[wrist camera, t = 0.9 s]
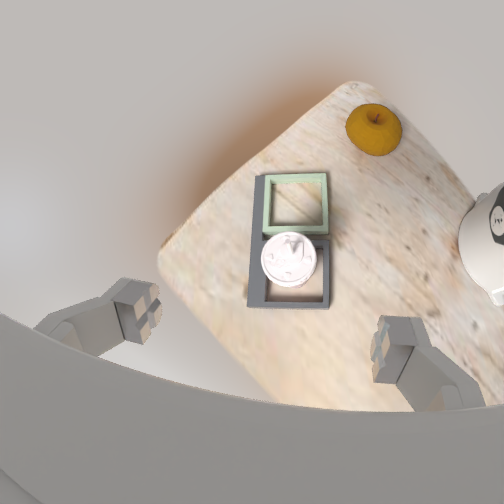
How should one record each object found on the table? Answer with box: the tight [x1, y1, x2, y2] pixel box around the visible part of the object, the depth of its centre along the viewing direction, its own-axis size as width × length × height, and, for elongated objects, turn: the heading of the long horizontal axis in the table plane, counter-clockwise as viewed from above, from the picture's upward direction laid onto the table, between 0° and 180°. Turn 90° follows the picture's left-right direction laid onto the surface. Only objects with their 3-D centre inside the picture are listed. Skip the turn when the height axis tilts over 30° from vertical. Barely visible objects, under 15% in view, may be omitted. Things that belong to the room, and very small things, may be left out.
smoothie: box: [261, 231, 317, 288], centre depth 36 cm, size 6×6×14 cm
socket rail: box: [247, 173, 329, 310], centre depth 44 cm, size 11×21×2 cm, turn 176°
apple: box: [345, 104, 402, 156], centre depth 42 cm, size 9×9×9 cm
